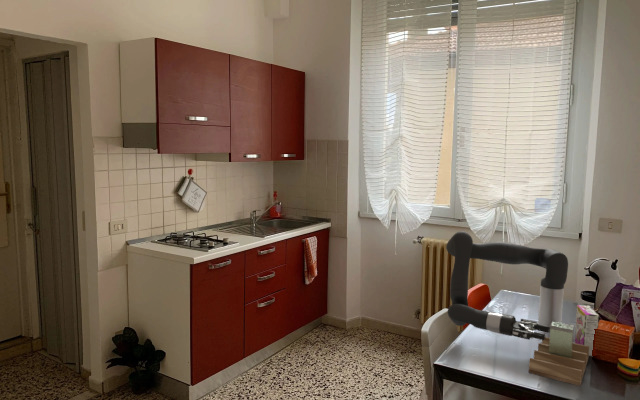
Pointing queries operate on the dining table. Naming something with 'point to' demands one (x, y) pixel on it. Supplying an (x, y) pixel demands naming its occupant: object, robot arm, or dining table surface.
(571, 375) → the plate rack
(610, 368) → the dining table surface
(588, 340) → the candy bar box
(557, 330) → the tea tin
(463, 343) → the dining table surface
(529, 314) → the dining table surface
